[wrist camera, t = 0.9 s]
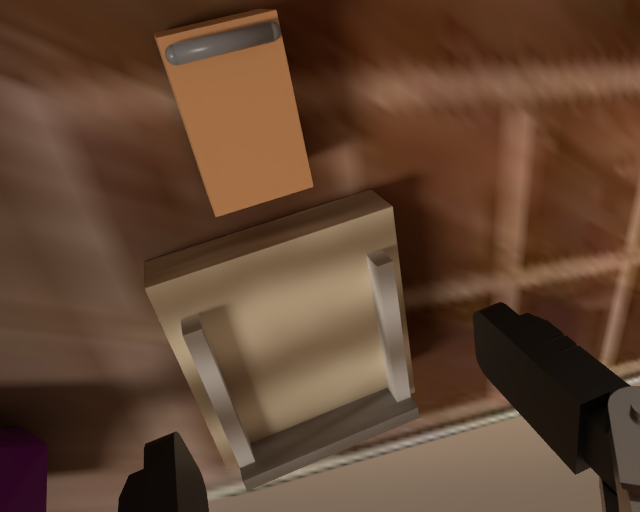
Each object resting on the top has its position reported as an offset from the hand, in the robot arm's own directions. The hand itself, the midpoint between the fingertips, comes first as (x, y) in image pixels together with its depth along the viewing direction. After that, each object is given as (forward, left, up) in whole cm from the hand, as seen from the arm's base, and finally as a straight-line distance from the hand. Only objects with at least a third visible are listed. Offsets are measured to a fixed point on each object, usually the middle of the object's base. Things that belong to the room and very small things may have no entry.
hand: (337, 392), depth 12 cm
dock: (+11, +1, -17) cm, 20 cm away
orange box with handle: (-4, +1, -17) cm, 18 cm away
